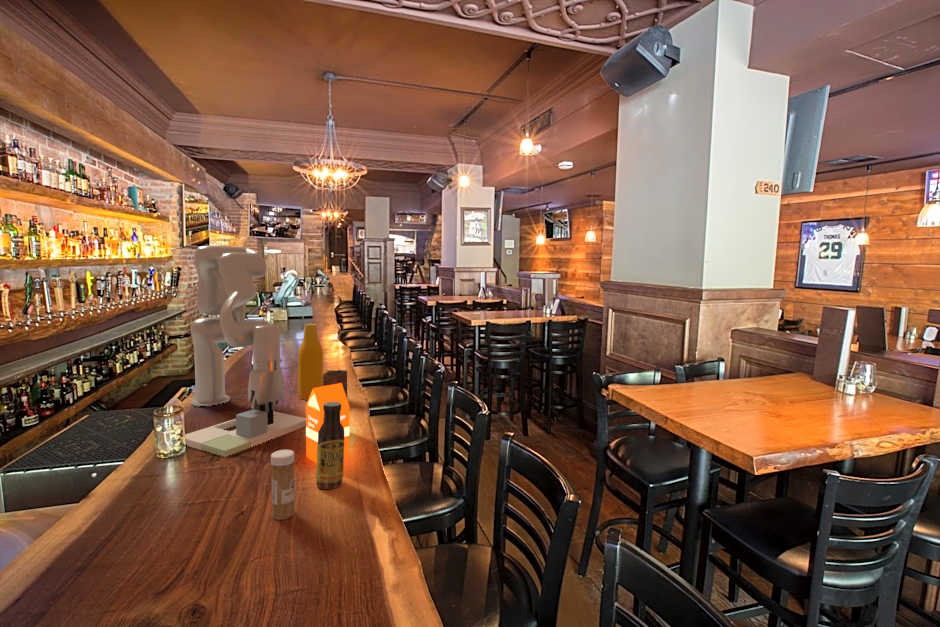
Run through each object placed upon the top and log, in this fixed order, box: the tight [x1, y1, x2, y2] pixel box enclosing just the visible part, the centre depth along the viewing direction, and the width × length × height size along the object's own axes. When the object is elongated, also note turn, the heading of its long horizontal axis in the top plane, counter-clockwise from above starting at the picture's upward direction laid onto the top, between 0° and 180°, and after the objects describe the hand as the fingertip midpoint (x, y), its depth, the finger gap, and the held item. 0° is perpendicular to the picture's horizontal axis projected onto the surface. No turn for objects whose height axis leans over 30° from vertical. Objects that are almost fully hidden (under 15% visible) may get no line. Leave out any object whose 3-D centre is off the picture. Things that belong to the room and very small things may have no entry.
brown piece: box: [323, 369, 348, 399], centre depth 143 cm, size 8×7×20 cm
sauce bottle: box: [315, 402, 345, 490], centre depth 110 cm, size 6×6×20 cm
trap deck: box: [184, 410, 306, 458], centre depth 142 cm, size 20×30×2 cm, turn 154°
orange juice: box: [305, 383, 351, 464], centre depth 126 cm, size 8×9×20 cm
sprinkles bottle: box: [270, 449, 296, 521], centre depth 96 cm, size 5×5×14 cm
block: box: [235, 408, 268, 438], centre depth 137 cm, size 6×6×6 cm
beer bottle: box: [297, 323, 324, 401], centre depth 181 cm, size 9×9×29 cm
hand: (267, 423), depth 142 cm, fingers closed
